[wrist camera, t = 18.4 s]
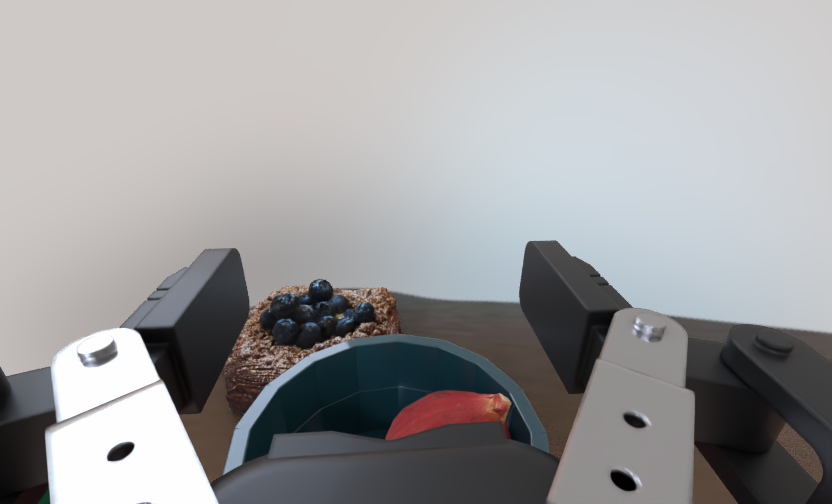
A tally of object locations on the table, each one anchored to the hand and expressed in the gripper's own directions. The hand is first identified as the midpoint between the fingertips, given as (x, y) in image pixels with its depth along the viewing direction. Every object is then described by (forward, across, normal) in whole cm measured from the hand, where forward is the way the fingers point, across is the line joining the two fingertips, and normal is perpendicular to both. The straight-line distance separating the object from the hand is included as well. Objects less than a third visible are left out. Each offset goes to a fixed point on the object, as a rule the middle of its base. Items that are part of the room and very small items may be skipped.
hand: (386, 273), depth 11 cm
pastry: (+14, +5, +15) cm, 21 cm away
